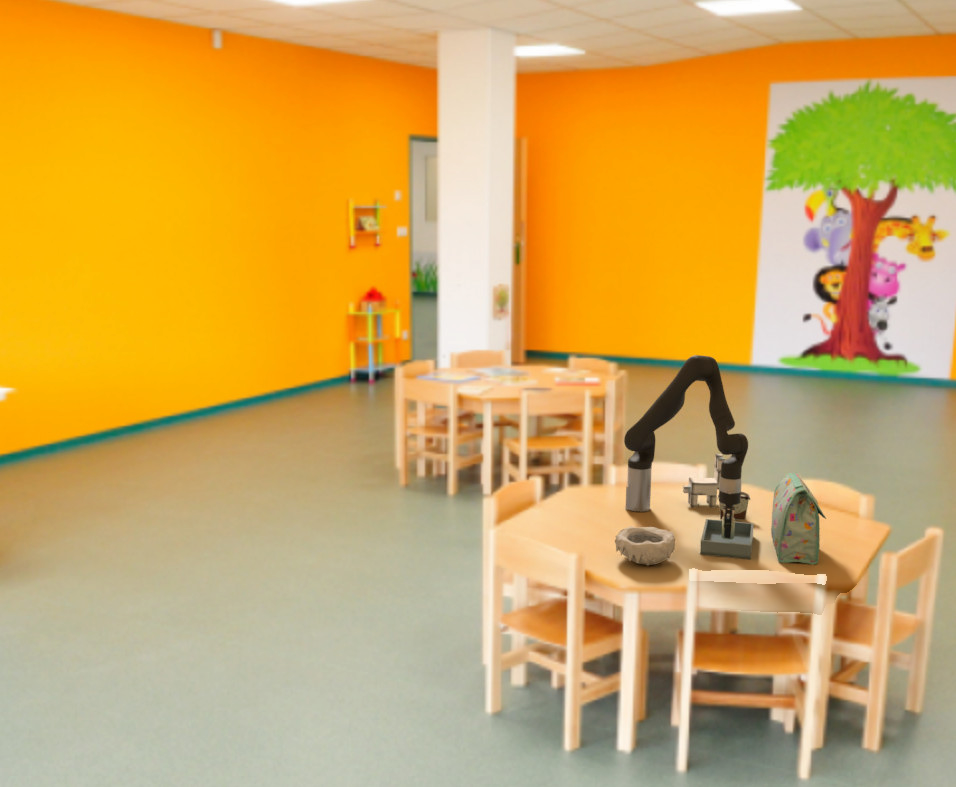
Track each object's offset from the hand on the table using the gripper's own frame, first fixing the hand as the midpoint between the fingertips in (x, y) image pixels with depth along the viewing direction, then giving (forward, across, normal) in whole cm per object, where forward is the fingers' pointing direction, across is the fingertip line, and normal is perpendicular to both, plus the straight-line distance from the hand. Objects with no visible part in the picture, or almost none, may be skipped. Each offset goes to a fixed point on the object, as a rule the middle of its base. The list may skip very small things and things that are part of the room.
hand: (727, 535), depth 356 cm
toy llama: (+4, -45, -11) cm, 46 cm away
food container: (+4, -32, 0) cm, 32 cm away
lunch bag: (+4, +1, +23) cm, 23 cm away
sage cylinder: (+1, 0, 0) cm, 1 cm away
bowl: (+4, +24, -26) cm, 36 cm away
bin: (+4, 0, 0) cm, 4 cm away
